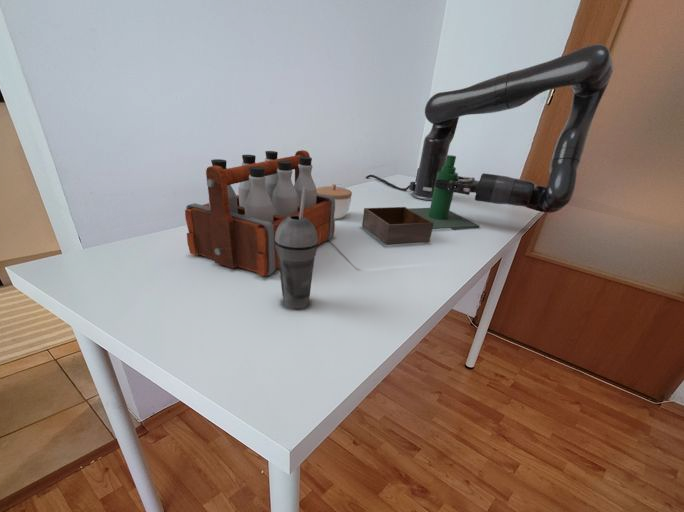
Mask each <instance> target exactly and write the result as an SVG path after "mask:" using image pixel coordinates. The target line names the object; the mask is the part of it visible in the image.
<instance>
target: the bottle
mask: <svg viewBox="0 0 684 512" xmlns="http://www.w3.org/2000/svg"><path fill="white" fill-rule="evenodd" d="M456 159H457V156H456V155H453V154H451V155H450V154H448V155H447V159H446V163H445V166H442V170H441V171H438V173H437V178H436V181H437V179H441V180H448V181H451V180H452V181H457V176H459V173H458V172H456V169H457V168H456V167H455V163H456V161H457V160H456ZM435 185H436V183H435ZM455 187H456V186H454V188H455ZM454 193H455V192H450V191H449V190H448V189H443V188H437V187H434V192H433V197H432V200H431V201H430V207H429V208H430V211H429V217H431V218H434V219H440V220H444V219H447V218H448V214H449V211H451V210H450V209H451V206H452V201H453V197H454Z"/></svg>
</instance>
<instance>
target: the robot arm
mask: <svg viewBox="0 0 684 512" xmlns="http://www.w3.org/2000/svg"><path fill="white" fill-rule="evenodd" d="M612 59H613V58H612V54H611V51H610V49H609V47H608V46H606V45H605V44H601V43H596V44H590V45H586V46H584V47H580V48H578V49H576V50H573V51H571V52H569V53H567V54H564V55H561V56H559V57H556V58H554V59H551V60H548V61H545V62H542V63H538V64H535V65H532V66H529V67H525V68H522V69H517V70H514V71H511V72H507V73H504V74H500V75H498V76H495V77H492V78H489V79H486V80H483V81H481V82H478V83H475V84H473V85H470V86H467V87H464V88H459V89H454V90H449V91H442V92H437V93H435V94H433V95H432V96H431V97H430V98H429V100H427V102H426V104H425V107H424V116H425V119H426V120H427V121H428V122H429V123H430V124H432V126H431V129H430V131H429V133H428V134H427V135H425V137H424V139H423V144H422V150H421V153H420V159H419V160H420V161H419V165H418V167H417V170H416V176H415V181H410V183H409V185H408V186H406V187H403V188H402V187H399V186H397V185H395V184H393V183H391V182H389V181H387V180H385V179H384V178H380V177H378V176H377V175H375V174H369V175H366V176H365V179H370V178H374V179H376V180H378V181H380V182H383V183H385V184H386V185H388V186H389V187H391V188H394V189H396V190H399V191H403V192H405V191H407V190H409V191H411V192H413V193H412V195H413V197H414V198H416V199H419V200H423V201H432V197H433V192H434V187H437V188H443V189H448V190H449V191H450V192H454V193H456V194H461V195H466V196H470V193H472V194H474V193H475V196H474V201H476V202H482V203H489V204H495V205H507V206H515V207H524V208H527V209H530V210H533V211H537V212H541V213H549V214H551V213H556V212H558V211H560V210H562V209H563V208H564V207H566V206H567V205H568V204H569V203H570V201H571V200H572V198H573V195H574V192H575V188H576V184H577V183H576V182H577V175H578V169H579V167H580V163H581V159H582V157H583V153H584V149H585V147H586V142H587V140H588V136H589V132H590V130H591V126H592V123H593V120H594V118H595V115H596V112H597V110H598V107H599V105H600V103H601V100H602V98H603V96H604V93H605V92H606V89H607V87H608V85H609V83H610V81H611V79H612V76H613V72H614V63H613V60H612ZM563 87H570V88H571V90H572V100H571V108H570V111H569V115H568V118H567V120H566V123H565V125H564V126H563V129H562V130H561V132H560V134H559V136H558V138H557V141H556V143H555V146H554V150H553V153H552V157H551V161H550V164H549V177H548V181H547V184H546V186H544V185H540V184H535V182H534V181H532V180H529V179H523V178H514V177H510V176H506V175H500V174H493V173H492V174H491V173H485V172H484V173H482V174H481V175H480V179H479V180H475V179H476V178H475V177H474V176H473V177H468V176H460V175H458V176H457V181H452V180H451V181H448V180H441V179H437V181H436V178H437V173H438V171H441V170H442V166H445V163H446V159H447V155H449V150H450V145H451V143H452V141H453V139H454V138H455V133H456V131H457V128H458V127H457V126H458V123H459V120H460V117H463V116H469V115H485V114H492V113H499V112H504V111H509V110H513V109H515V108H519V107H521V106H523V105H524V104H526V103H528V102H529V101H531V100H532V99H534V98H536V96H538V95H541V94H542V93H544V92H547V91H549V90H554V89H558V88H563ZM435 183H436V185H435ZM454 186H455V188H454Z"/></svg>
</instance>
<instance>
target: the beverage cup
mask: <svg viewBox="0 0 684 512" xmlns="http://www.w3.org/2000/svg"><path fill="white" fill-rule="evenodd" d="M305 195H306V187H303V192H302V200H301V208H300V215H299V216H297V215H294V216H290V217H287V218H286V219H284V220H283V221H282V222H281V223H280V225H279V226H278V228H277V231H276V235H275V240H274V242H275V244H276V250H277V254H278V259H279V268H278V269H279V277H280V285H281V294H282V295H281V296H282V299H283V305H284V306H285V308H288V309H291V310H303V309H305V308H307V307H308V306H309V300H310V296H311V290H312V289H311V288H312V280H313V274H314V273H313V272H314V266H315V265H314V264H315V257H316V254H317V250H318V246H319V245H318V237H317V232H316V230H315V228H314V226H313V224H312V223H311V222H310V221H309V220H308V219H306V218H305V217H303V210H304V203H305Z"/></svg>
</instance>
